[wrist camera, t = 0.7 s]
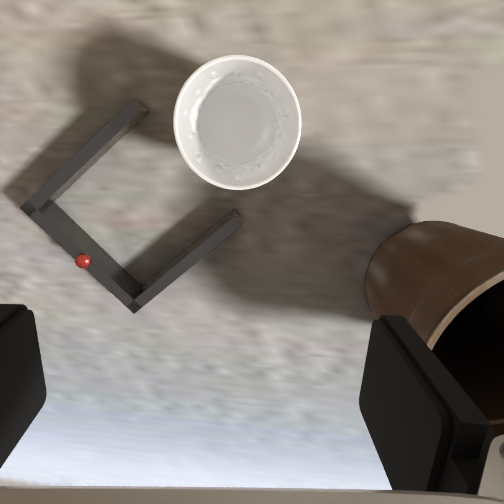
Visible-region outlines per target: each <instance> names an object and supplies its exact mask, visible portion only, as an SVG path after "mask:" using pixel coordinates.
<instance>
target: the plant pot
mask: <svg viewBox="0 0 504 504" xmlns="http://www.w3.org/2000/svg"><path fill="white" fill-rule="evenodd" d="M365 292H366V298H367V301H368V304H369V306H370V309H371V311H372V313H373V314H374V316H375V318H376V319H377V320H379V317H380V316H381V315H402V316H404V317H405V319H406V320H407V321H408V322H409V324H410V325H411V326H412V327H413V328H414V330H415V331H416V332H417V333H418V335H419V336H420V337H421V338H422V339H423V341H424V342H425V343H426V344H427V346H428V347H429V348H430V349H431V351H432V352H433V353H434V354H435V355H436V357H437V358H438V359H439V360H440V362H441V363H442V364H443V365H444V367H445V368H446V369H447V370H448V371H449V373H450V374H451V375H452V376H453V378H454V379H455V380H456V381H457V383H458V384H459V385H460V386H461V387H462V389H463V390H464V391H465V392H466V394H467V395H468V396H469V397H470V399H471V400H472V401H473V402H474V403H475V405H476V406H477V407H478V408H479V410H480V411H481V412H482V413H483V414H484V416H485V417H486V418H487V419H488V421H489V422H490V424H489V425H490V426H491V427H492V429H493V430H494V431H495V432H496V434H497V435H498V436H500V435H504V238H501V237H497V236H494V235H490V234H487V233H483V232H480V231H476V230H473V229H469V228H465V227H462V226H459V225H456V224H453V223H449V222H443V221H423V222H419V223H415V224H412V225H410V226H409V227H407V228H406V229H404V230H403V231H401V232H399V233H397V234H395V235H392V236H391V237H389V238H388V239H387V240H386V241H385V242H384V243H383V244H382V245H381V246H380V247H379V249H378V250H377V252H376V253H375V255H374V256H373V258H372V260H371V262H370V265H369V267H368V271H367V274H366V280H365Z"/></svg>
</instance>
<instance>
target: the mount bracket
mask: <svg viewBox="0 0 504 504" xmlns="http://www.w3.org/2000/svg"><path fill="white" fill-rule="evenodd" d="M148 112H149V110H148V109H147V108H146V107H145V105H144V104H143V103H142V102H141V101H136V100H131V101H130V102H129V103H128V104H127V105H126V106H125V107H124V108H123V109H122V110H121V111H120V112H119V113H118V114H117V115H116V116H115V117H114V118H112V119H111V120H110V121H109V122H108V123H107V124H106V125H105V126H104V127H103V128H102V129H101V130H100V131H99V132H98V133H97V134H96V135H95V136H94V137H93V138H92V139H91V140H90V141H89V142H88V143H87V144H86V145H85V146H83V147H82V148H81V149H80V150H79V151H78V152H77V153H76V154H75V155H74V156H73V157H72V158H71V159H70V160H69V161H68V162H67V163H66V164H65V165H64V166H63V167H62V168H61V169H60V170H59V171H58V172H57V173H56V174H54V175H53V176H52V177H51V178H50V179H49V180H48V181H47V182H46V183H45V184H44V185H43V186H42V187H41V188H40V189H39V190H38V191H37V192H36V193H35V194H34V195H33V196H32V197H31V198H30V199H29V200H28V201H26V202H25V203H24V204H23V205H22V206H21V207H20V209H22V210H23V211H24V212H25V213H26V214H27V215H28V216H29V217H30V218H31V219H32V220H33V221H35V222H36V223H37V224H38V225H39V226H40V227H41V228H42V229H43V230H44V231H45V232H46V233H47V234H49V235H50V236H51V237H52V238H53V239H54V240H55V241H56V242H57V243H58V244H59V245H60V246H61V247H63V248H64V249H65V250H66V251H67V252H68V253H69V254H70V255H71V256H72V257H73V258H74V259H75V263H76V265H77V266H78V267H80V268H85V269H86V270H87V271H88V272H90V273H91V274H92V275H93V276H94V277H95V278H96V279H97V280H98V281H99V282H100V283H101V284H102V285H104V286H105V287H106V288H107V289H108V290H109V291H110V292H111V293H112V294H113V295H114V296H115V297H116V298H118V299H119V300H120V301H121V302H122V303H123V304H124V305H125V306H126V307H127V308H128V309H129V310H130V311H132V312H133V313H136V312H137V311H138V310H139V309H141V308H142V307H143V306H144V305H145V304H147V303H148V302H149V301H150V300H152V299H153V298H154V297H155V296H156V295H158V294H159V293H160V292H161V291H163V290H164V289H165V288H166V287H167V286H169V285H170V284H171V283H172V282H173V281H175V280H176V279H177V278H178V277H180V276H181V275H182V274H183V273H184V272H186V271H187V270H188V269H189V268H191V267H192V266H193V265H194V264H195V263H197V262H198V261H199V260H200V259H202V258H203V257H204V256H205V255H206V254H208V253H209V252H210V251H211V250H212V249H214V248H215V247H216V246H217V245H219V244H220V243H221V242H222V241H223V240H225V239H226V238H227V237H228V236H230V235H231V234H232V233H233V232H234V231H236V230H237V229H238V228H239V227H240V226H242V217H241V216H240V215H239V213H238V212H237V211H236V210H235V209H234V210H232V211H231V212H230V213H229V214H228V215H226V216H225V217H224V218H223V219H222V220H220V221H219V222H218V223H217V224H216V225H214V226H213V227H212V228H211V229H210V230H208V231H207V232H206V233H205V234H204V235H202V236H201V237H200V238H199V239H198V240H196V241H195V242H194V243H193V244H192V245H191V246H189V247H188V248H187V249H186V250H185V251H183V252H182V253H181V254H180V255H179V256H177V257H176V258H175V259H174V260H173V261H171V262H170V263H169V264H168V265H167V266H165V267H164V268H163V269H162V270H161V271H159V272H158V273H157V274H156V275H155V276H153V277H152V278H151V279H150V280H149V281H147V282H146V283H145V284H144V285H143V286H141V285H140V284H139V283H138V282H137V281H136V280H135V279H134V278H132V277H131V276H130V275H129V274H128V273H127V272H126V271H125V270H124V269H123V268H122V267H121V266H120V265H119V264H118V263H117V262H116V261H115V260H114V259H113V258H112V257H111V256H110V255H109V254H108V253H107V252H105V251H104V250H103V249H102V248H101V247H100V246H99V245H98V244H97V243H96V242H95V241H94V240H93V239H92V238H91V237H90V236H89V235H88V234H87V233H86V232H85V231H84V230H83V229H82V228H81V227H79V226H78V225H77V224H76V223H75V222H74V221H73V220H72V219H71V218H70V217H69V216H68V215H67V214H66V213H65V212H64V211H63V210H62V209H61V208H60V207H59V206H58V205H57V204H56V203H55V202H54V201H55V200H56V199H57V198H59V197H60V196H61V195H62V194H63V193H64V192H65V191H66V190H67V189H68V188H69V187H70V186H71V185H72V184H73V183H74V182H75V181H76V180H78V179H79V178H80V177H81V176H82V175H83V174H84V173H85V172H86V171H87V170H88V169H89V168H90V167H91V166H92V165H93V164H94V163H95V162H97V161H98V160H99V159H100V158H101V157H102V156H103V155H104V154H105V153H106V152H107V151H108V150H109V149H110V148H111V147H112V146H113V145H115V144H116V143H117V142H118V141H119V140H120V139H121V138H122V137H123V136H124V135H125V134H126V133H127V132H128V131H129V130H130V129H131V128H132V127H134V126H135V125H136V124H137V123H138V122H139V121H140V120H141V119H142V118H143V117H144V116H145V115H146V114H147V113H148Z"/></svg>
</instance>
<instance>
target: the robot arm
mask: <svg viewBox="0 0 504 504" xmlns="http://www.w3.org/2000/svg"><path fill="white" fill-rule="evenodd" d="M45 400H46V385H45V379H44V373H43V367H42V361H41V355H40V349H39V342H38V336H37V330H36V324H35V318H34V314H33V312H32V311H31V310H28V309H27V307H26V306H25V305H23V304H0V468H1V467H2V465H3V464H4V462H5V461H6V459H7V458H8V456H9V455H10V454H11V452H12V451H13V449H14V448H15V446H16V445H17V443H18V442H19V440H20V439H21V437H22V436H23V434H24V433H25V432H26V430H27V429H28V427H29V426H30V424H31V423H32V421H33V420H34V418H35V417H36V415H37V414H38V412H39V411H40V409H41V408H42V407H43V405H44V403H45ZM359 406H360V410H361V413H362V416H363V418H364V421H365V423H366V426H367V428H368V431H369V433H370V435H371V438H372V440H373V443H374V445H375V448H376V450H377V453H378V455H379V458H380V460H381V462H382V465H383V467H384V470H385V472H386V475H387V477H388V480H389V482H390V485H391V487H392V490H362V489H303V488H237V487H132V486H0V504H504V435H500V436H498V435H497V434H496V432H495V431H494V430H493V429H492V427H491V426H490V425H489V424H490V422H489V421H488V419H487V418H486V417H485V416H484V414H483V413H482V412H481V411H480V410H479V408H478V407H477V406H476V405H475V403H474V402H473V401H472V400H471V399H470V397H469V396H468V395H467V394H466V392H465V391H464V390H463V389H462V387H461V386H460V385H459V384H458V383H457V381H456V380H455V379H454V378H453V376H452V375H451V374H450V373H449V371H448V370H447V369H446V368H445V367H444V365H443V364H442V363H441V362H440V360H439V359H438V358H437V357H436V355H435V354H434V353H433V352H432V351H431V349H430V348H429V347H428V346H427V344H426V343H425V342H424V341H423V339H422V338H421V337H420V336H419V335H418V333H417V332H416V331H415V330H414V328H413V327H412V326H411V325H410V324H409V322H408V321H407V320H406V319H405V317H404V316H402V315H381V316H380V317H379V320H374V321H373V323H372V328H371V333H370V339H369V345H368V350H367V356H366V362H365V368H364V373H363V379H362V385H361V390H360V396H359Z"/></svg>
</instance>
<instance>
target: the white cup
mask: <svg viewBox="0 0 504 504" xmlns="http://www.w3.org/2000/svg"><path fill="white" fill-rule="evenodd" d="M173 128H174V135H175V139H176V143H177V146H178V149H179V151H180V153H181V155H182V157H183V158H184V160H185V161H186V163H187V164H188V166H189V167H190V168H191V169H192V170H193V171H194V172H195V173H196V174H197V175H198V176H200V177H201V178H202V179H204V180H205V181H207V182H209V183H211V184H213V185H215V186H218V187H221V188H225V189H231V190H245V189H251V188H255V187H258V186H261V185H263V184H265V183H267V182H269V181H271V180H272V179H274V178H275V177H276V176H277V175H279V174H280V173H281V172H282V171H283V170H284V169H285V167H286V166H287V165H288V164H289V162H290V161H291V159H292V157H293V156H294V154H295V151H296V149H297V146H298V143H299V139H300V134H301V112H300V107H299V103H298V100H297V97H296V95H295V93H294V91H293V89H292V87H291V85H290V84H289V82H288V81H287V80H286V78H285V77H284V76H283V75H282V74H281V73H280V72H279V71H278V70H277V69H275V68H274V67H273V66H271V65H270V64H268V63H266V62H264V61H262V60H260V59H257V58H254V57H251V56H246V55H227V56H222V57H219V58H216V59H213V60H211V61H209V62H207V63H205V64H204V65H202V66H201V67H199V68H198V69H197V70H196V71H195V72H193V73H192V75H191V76H190V77H189V78H188V79H187V81H186V82H185V83H184V85H183V87H182V88H181V90H180V92H179V95H178V97H177V100H176V104H175V108H174V115H173Z"/></svg>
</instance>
